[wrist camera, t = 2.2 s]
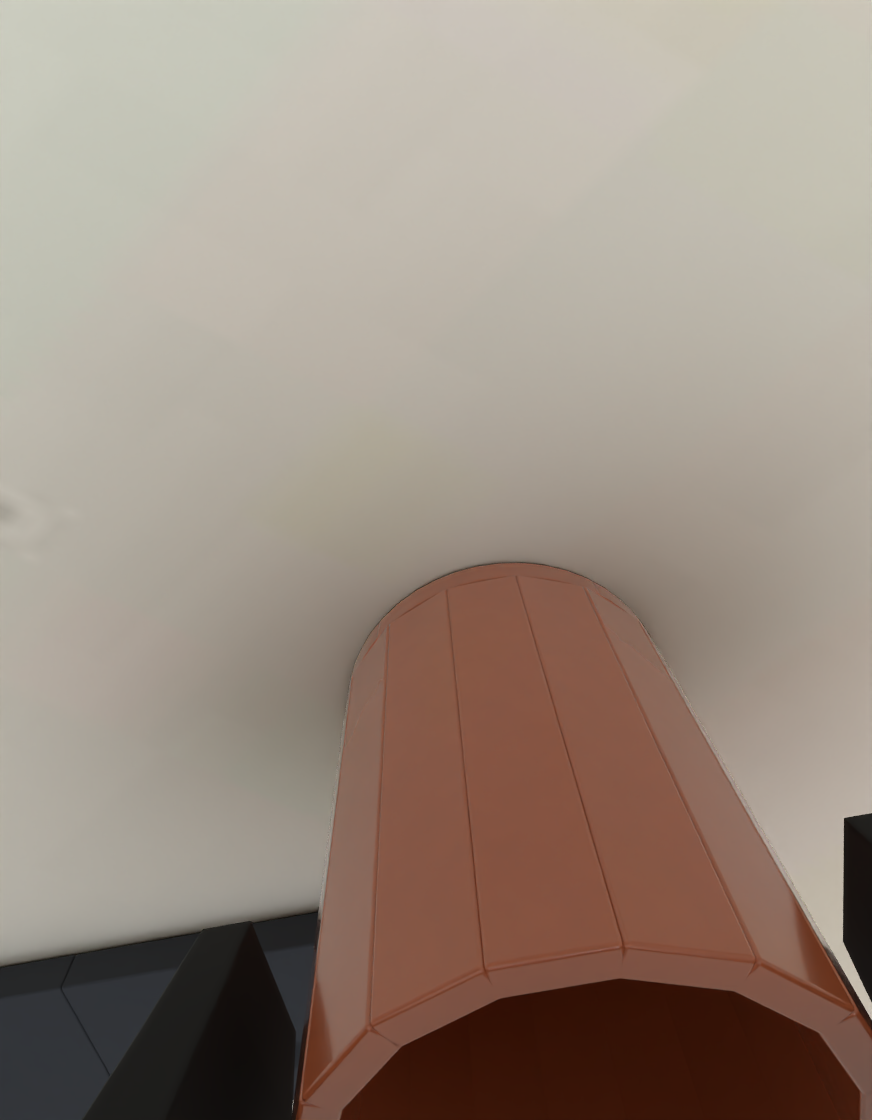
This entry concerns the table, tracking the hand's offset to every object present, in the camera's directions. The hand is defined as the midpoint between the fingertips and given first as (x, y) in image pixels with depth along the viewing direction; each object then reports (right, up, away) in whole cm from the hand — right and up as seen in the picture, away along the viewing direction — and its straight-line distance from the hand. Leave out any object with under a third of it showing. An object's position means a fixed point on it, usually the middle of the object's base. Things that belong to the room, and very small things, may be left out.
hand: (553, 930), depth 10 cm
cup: (0, +2, +4) cm, 5 cm away
